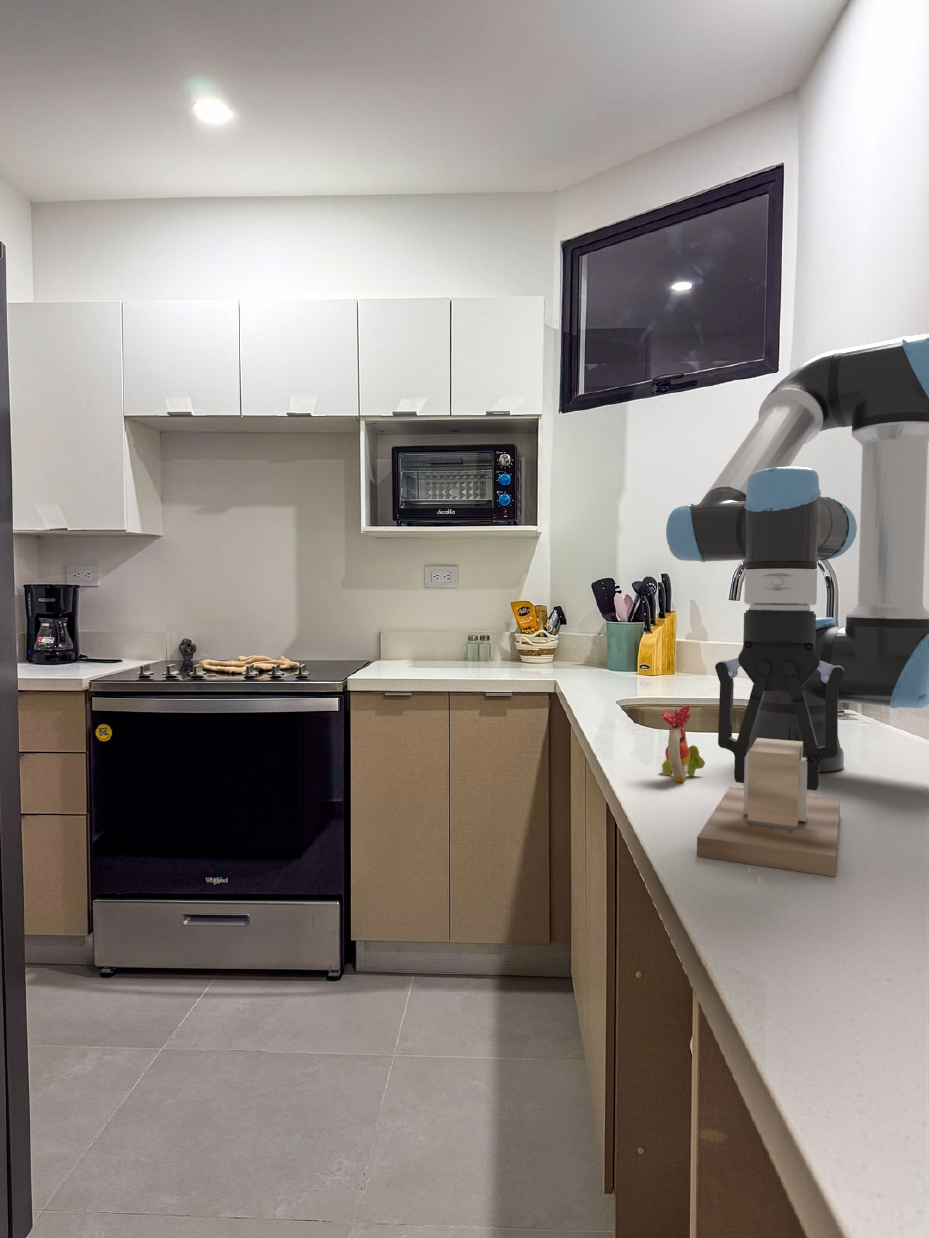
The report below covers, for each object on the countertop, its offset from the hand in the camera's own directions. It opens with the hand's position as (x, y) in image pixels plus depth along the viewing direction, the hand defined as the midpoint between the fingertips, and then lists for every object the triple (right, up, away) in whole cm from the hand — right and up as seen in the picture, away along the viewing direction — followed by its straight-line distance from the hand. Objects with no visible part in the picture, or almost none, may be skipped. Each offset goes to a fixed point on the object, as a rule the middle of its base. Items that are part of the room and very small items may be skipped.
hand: (775, 814), depth 90 cm
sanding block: (0, 0, 0) cm, 0 cm away
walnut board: (0, -2, 0) cm, 2 cm away
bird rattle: (-3, -2, +27) cm, 27 cm away
